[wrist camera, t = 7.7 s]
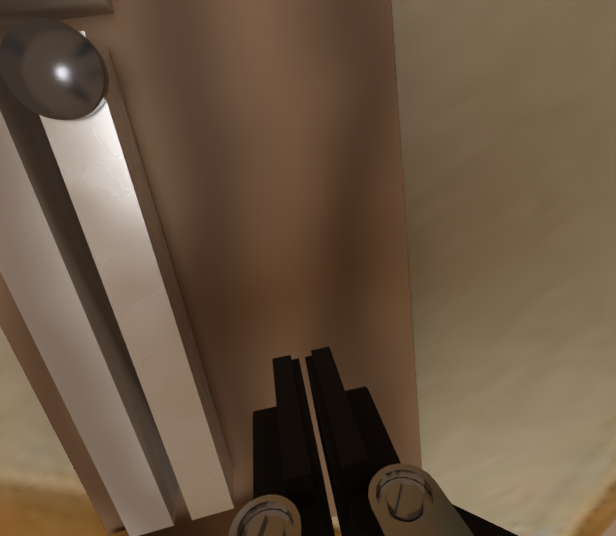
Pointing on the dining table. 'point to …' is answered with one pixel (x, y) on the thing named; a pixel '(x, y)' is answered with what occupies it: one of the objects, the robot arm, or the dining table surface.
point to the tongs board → (219, 233)
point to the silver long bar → (124, 241)
